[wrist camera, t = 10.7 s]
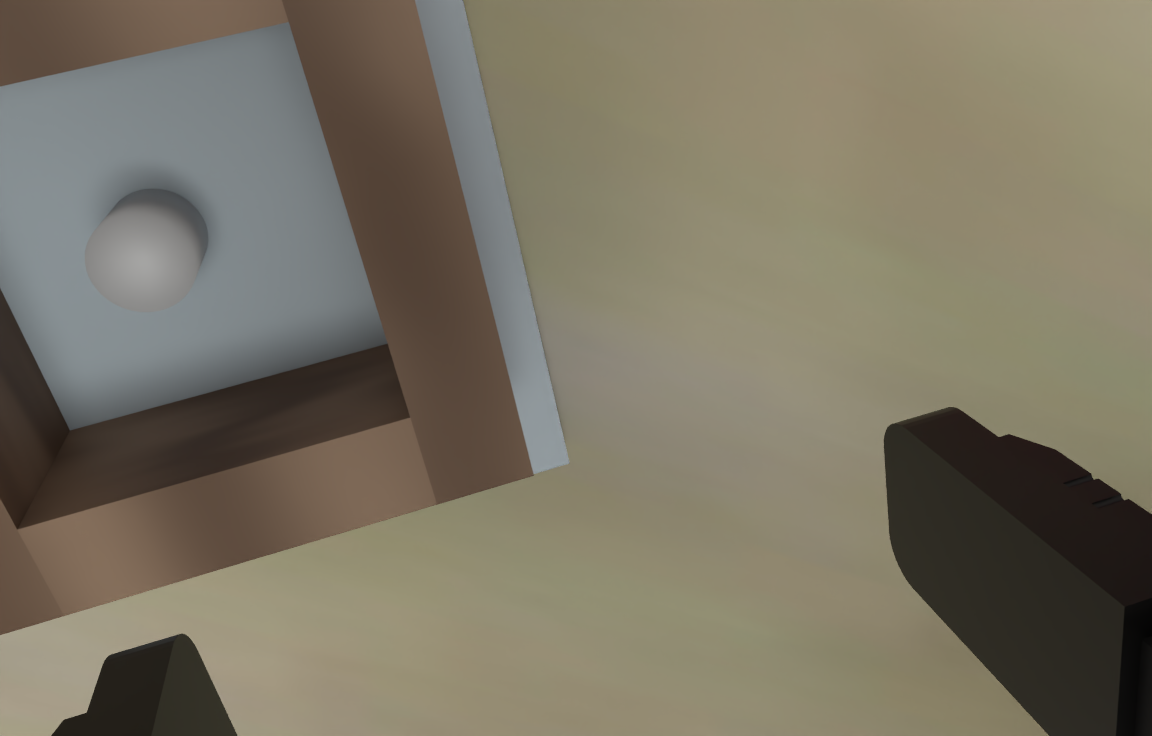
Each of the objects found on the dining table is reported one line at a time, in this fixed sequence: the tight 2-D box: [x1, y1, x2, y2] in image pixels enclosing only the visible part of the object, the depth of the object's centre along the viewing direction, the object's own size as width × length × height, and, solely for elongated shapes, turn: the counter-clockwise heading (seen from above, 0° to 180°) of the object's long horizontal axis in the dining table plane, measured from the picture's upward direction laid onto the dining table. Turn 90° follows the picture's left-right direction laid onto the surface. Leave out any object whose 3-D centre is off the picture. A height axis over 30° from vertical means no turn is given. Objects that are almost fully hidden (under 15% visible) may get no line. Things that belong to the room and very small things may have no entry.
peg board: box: [0, 0, 569, 474], centre depth 24 cm, size 18×20×4 cm
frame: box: [0, 0, 534, 635], centre depth 22 cm, size 14×14×5 cm
